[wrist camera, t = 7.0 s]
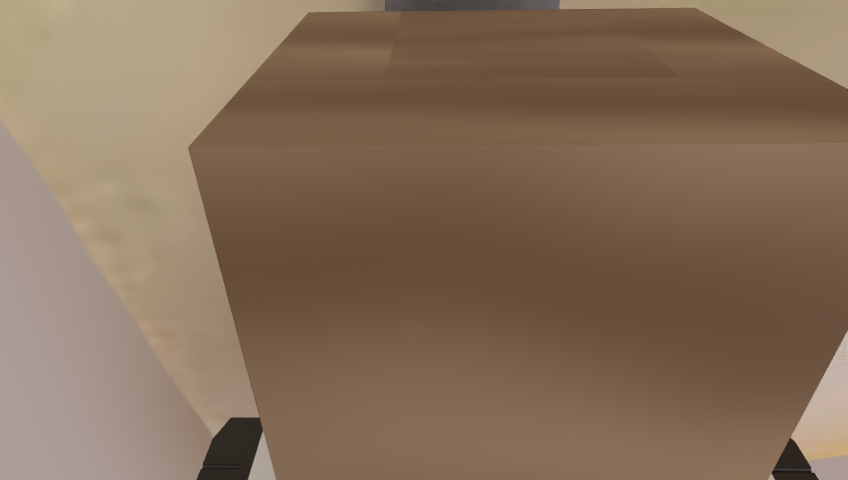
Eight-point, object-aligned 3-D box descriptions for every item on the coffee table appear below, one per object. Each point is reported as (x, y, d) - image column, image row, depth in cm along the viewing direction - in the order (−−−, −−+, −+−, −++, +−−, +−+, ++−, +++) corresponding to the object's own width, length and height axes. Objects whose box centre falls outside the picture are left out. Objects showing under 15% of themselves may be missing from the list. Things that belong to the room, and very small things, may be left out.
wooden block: (308, 12, 10) (188, 147, 5) (694, 7, 10) (948, 142, 5) (366, 493, 19) (341, 724, 14) (580, 495, 18) (634, 729, 13)
